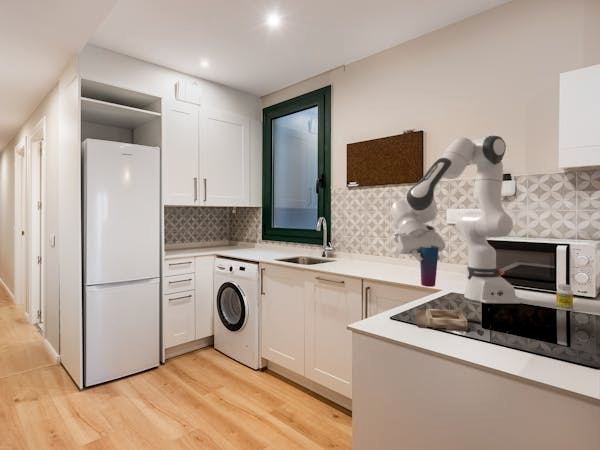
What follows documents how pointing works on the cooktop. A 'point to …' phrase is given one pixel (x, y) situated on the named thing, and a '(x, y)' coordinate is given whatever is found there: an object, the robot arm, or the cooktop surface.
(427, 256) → the cup
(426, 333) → the cooktop surface
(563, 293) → the supplement bottle
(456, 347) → the cooktop surface
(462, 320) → the light wooden shallow tray
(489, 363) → the cooktop surface
